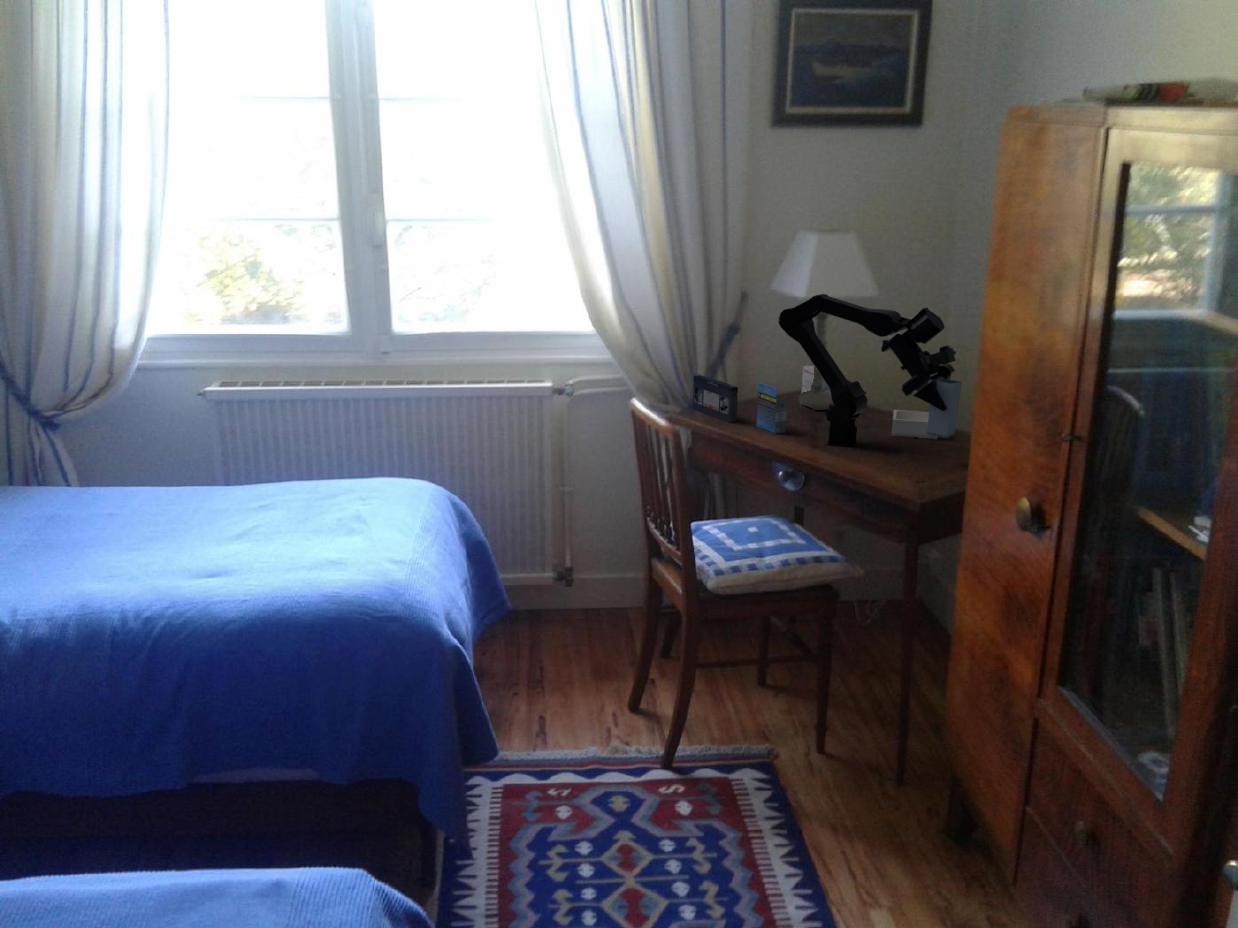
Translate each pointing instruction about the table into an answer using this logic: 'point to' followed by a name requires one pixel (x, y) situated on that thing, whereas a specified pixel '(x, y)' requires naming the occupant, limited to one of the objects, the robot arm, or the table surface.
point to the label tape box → (771, 410)
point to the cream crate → (910, 424)
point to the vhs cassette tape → (715, 398)
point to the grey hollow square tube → (945, 420)
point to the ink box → (808, 380)
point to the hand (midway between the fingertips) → (949, 408)
